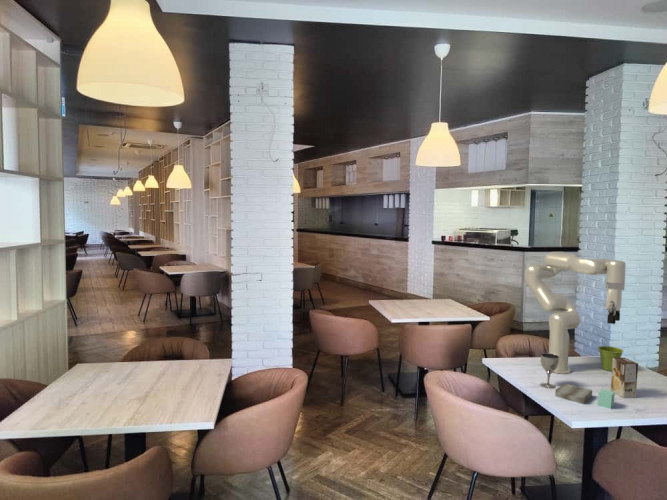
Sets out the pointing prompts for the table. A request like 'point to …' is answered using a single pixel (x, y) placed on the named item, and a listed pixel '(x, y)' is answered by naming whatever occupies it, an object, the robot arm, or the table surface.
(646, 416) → the table surface
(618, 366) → the coffee box
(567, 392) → the base block
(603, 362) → the plant pot
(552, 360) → the wine glass
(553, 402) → the table surface
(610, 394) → the teal block
